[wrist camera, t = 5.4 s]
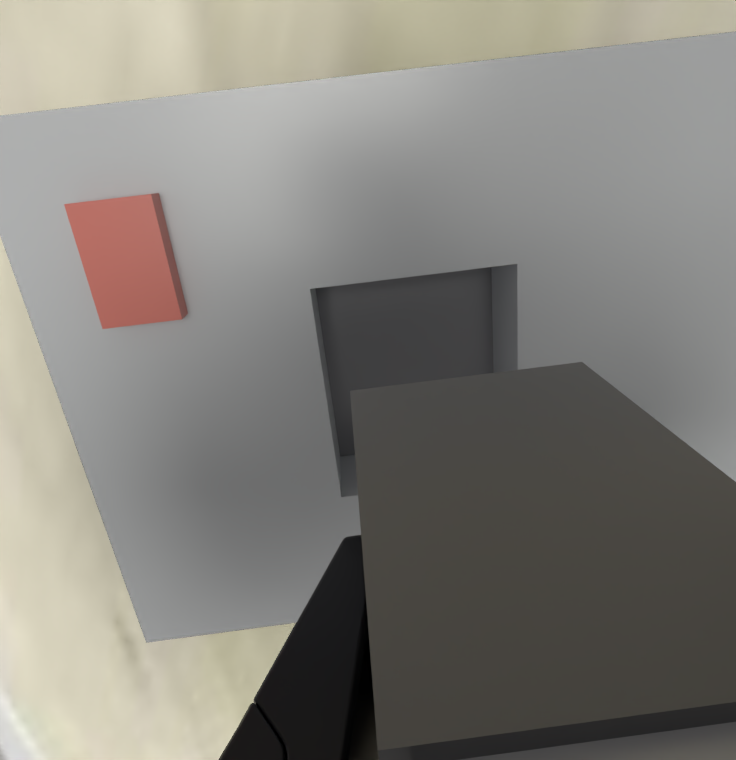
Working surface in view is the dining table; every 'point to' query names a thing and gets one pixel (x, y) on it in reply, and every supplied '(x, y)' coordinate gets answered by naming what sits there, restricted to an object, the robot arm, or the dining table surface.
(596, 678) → the plug
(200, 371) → the socket plate
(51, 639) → the dining table surface
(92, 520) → the dining table surface
